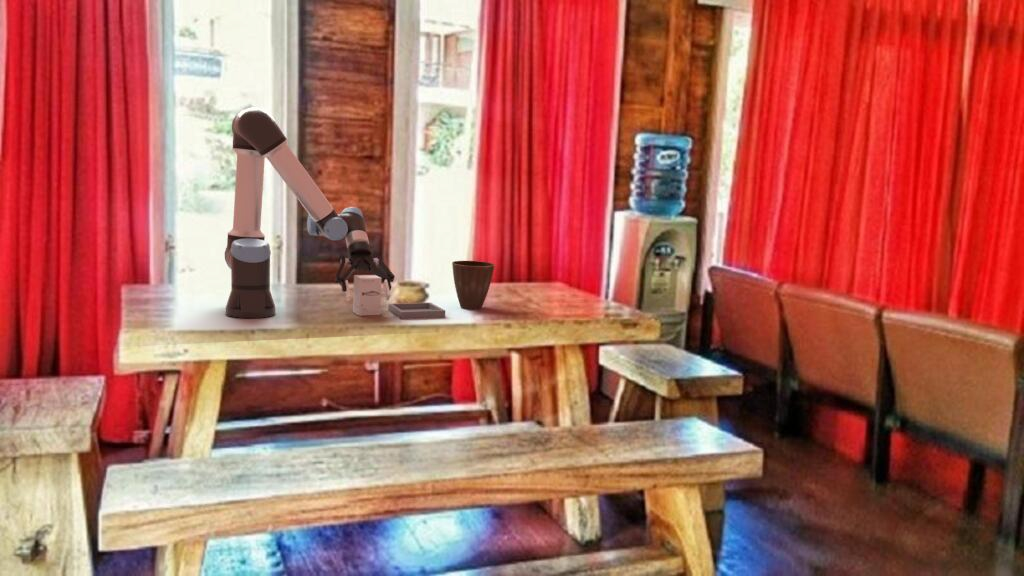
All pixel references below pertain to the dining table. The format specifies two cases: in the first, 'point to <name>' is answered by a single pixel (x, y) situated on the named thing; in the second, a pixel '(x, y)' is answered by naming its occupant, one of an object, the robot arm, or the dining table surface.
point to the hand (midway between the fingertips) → (369, 298)
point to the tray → (416, 310)
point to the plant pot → (472, 282)
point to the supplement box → (367, 295)
